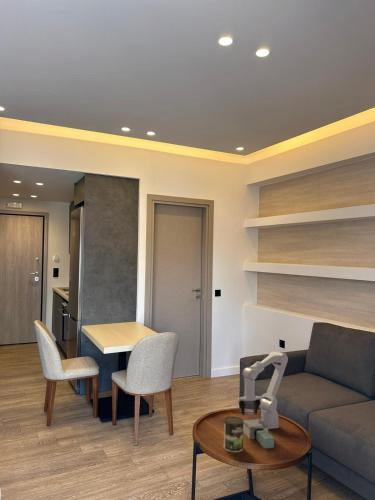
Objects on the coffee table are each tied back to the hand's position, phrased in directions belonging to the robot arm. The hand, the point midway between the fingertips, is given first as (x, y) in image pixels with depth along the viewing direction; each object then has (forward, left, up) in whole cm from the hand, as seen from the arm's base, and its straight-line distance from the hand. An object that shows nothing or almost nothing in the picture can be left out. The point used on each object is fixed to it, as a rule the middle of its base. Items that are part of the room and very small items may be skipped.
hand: (249, 413), depth 210 cm
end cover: (-2, +15, -10) cm, 18 cm away
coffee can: (+16, +15, -11) cm, 24 cm away
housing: (-2, +3, -10) cm, 11 cm away
